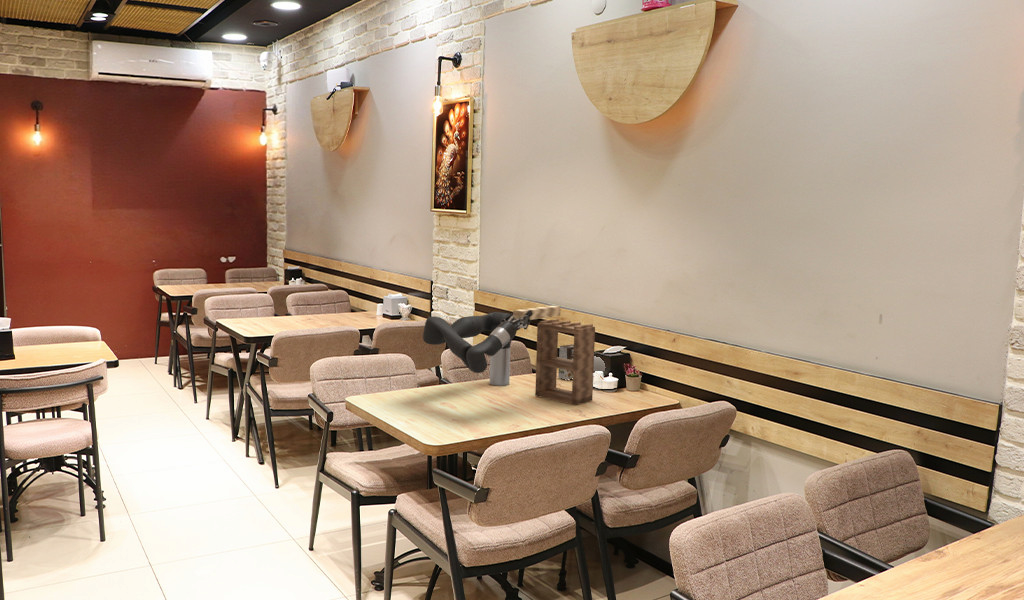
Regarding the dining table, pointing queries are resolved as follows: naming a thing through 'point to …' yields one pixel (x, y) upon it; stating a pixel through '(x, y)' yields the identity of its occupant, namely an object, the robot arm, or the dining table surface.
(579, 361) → the walnut shelf
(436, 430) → the dining table surface
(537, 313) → the beech bar
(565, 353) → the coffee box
